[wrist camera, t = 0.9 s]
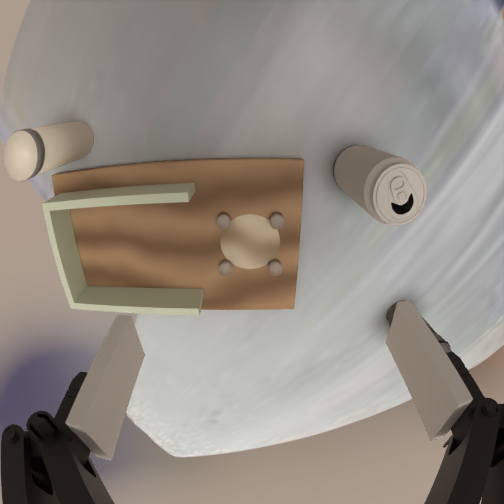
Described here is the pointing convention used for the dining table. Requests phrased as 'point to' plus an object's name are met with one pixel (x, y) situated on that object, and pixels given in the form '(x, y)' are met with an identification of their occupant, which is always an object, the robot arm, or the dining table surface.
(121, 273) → the board
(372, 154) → the beverage can
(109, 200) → the pale green open frame
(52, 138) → the beige rounded cylinder
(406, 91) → the dining table surface
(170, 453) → the dining table surface
